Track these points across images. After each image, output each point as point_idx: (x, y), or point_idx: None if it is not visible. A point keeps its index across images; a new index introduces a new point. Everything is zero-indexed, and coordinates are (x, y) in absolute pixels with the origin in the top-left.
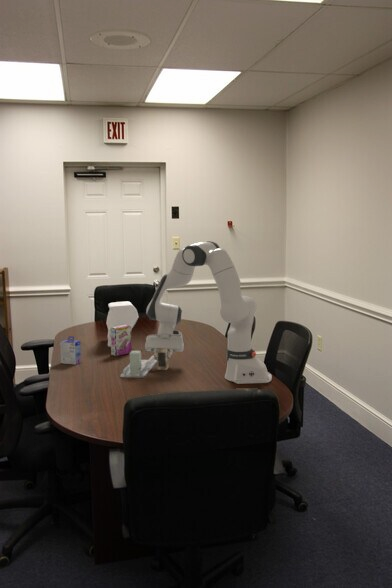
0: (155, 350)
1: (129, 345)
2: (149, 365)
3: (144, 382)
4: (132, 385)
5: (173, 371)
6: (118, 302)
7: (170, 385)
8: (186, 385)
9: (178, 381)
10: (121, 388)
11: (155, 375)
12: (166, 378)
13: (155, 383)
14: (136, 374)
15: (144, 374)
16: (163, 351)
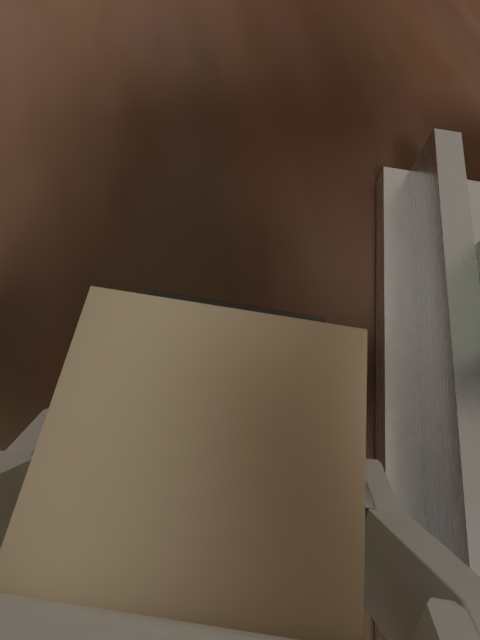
0: (473, 610)
1: None
2: None
3: (346, 91)
4: (420, 53)
5: None
6: None
7: (138, 24)
8: (16, 12)
9: (64, 81)
10: (474, 21)
11: (280, 235)
12: (166, 151)
13: (255, 66)
14: (475, 210)
15: (393, 203)
16: (171, 305)
